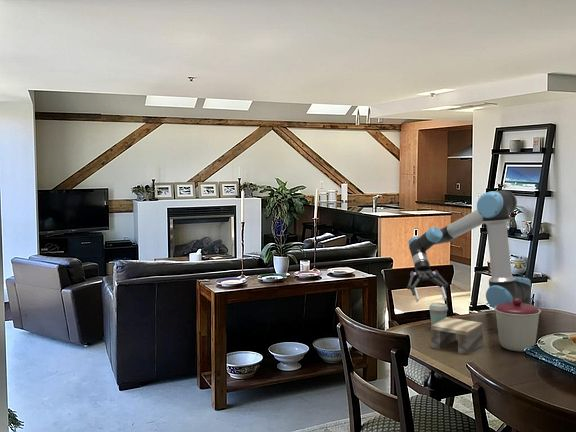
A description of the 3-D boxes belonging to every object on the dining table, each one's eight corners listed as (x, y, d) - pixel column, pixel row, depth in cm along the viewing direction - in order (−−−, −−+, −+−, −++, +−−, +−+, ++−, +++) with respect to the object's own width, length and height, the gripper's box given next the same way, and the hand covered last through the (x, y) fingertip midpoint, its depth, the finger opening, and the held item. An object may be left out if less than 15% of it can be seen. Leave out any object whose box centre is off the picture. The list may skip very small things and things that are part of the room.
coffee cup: (448, 332, 255) (448, 307, 255) (429, 331, 257) (429, 306, 256) (447, 327, 264) (447, 302, 263) (428, 326, 266) (428, 302, 265)
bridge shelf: (482, 344, 237) (482, 322, 236) (467, 354, 225) (467, 331, 224) (447, 338, 247) (447, 317, 246) (431, 347, 235) (430, 325, 234)
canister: (550, 352, 224) (550, 301, 222) (509, 356, 221) (509, 304, 219) (524, 339, 242) (524, 292, 240) (485, 343, 239) (485, 295, 237)
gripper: (443, 267, 285) (454, 302, 271) (396, 269, 283) (404, 305, 269) (447, 258, 279) (458, 294, 265) (398, 260, 277) (407, 297, 264)
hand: (431, 300), depth 267 cm, fingers open, 13 cm apart
